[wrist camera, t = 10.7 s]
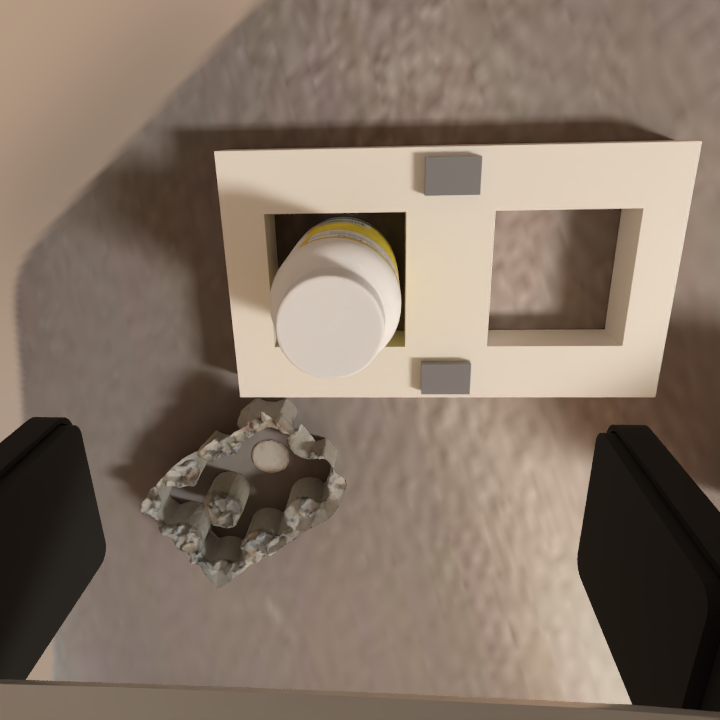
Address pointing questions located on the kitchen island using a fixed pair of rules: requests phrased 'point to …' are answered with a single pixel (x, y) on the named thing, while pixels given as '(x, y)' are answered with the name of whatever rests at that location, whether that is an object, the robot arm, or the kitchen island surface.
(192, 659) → the kitchen island surface
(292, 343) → the supplement bottle
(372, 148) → the socket plate
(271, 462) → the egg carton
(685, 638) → the robot arm
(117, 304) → the kitchen island surface
